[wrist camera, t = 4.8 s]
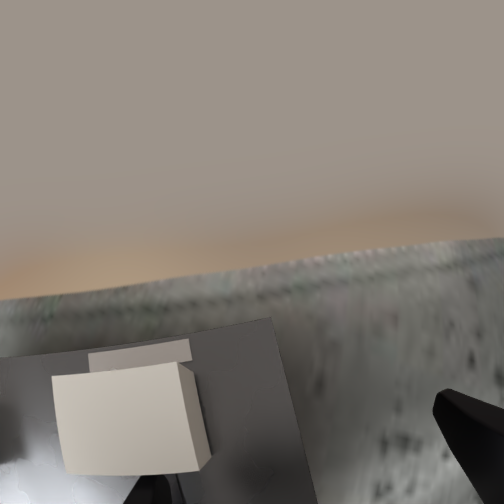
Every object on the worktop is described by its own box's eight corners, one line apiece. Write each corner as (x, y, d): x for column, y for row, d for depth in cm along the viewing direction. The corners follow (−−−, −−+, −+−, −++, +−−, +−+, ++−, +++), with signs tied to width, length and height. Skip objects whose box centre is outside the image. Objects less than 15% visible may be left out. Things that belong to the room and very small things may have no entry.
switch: (211, 457, 9) (199, 470, 7) (102, 464, 8) (66, 473, 6) (193, 372, 10) (176, 361, 8) (88, 385, 10) (51, 375, 8)
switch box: (311, 538, 12) (340, 595, 6) (39, 540, 10) (-24, 563, 4) (264, 351, 18) (271, 316, 11) (7, 383, 16) (-66, 360, 10)
